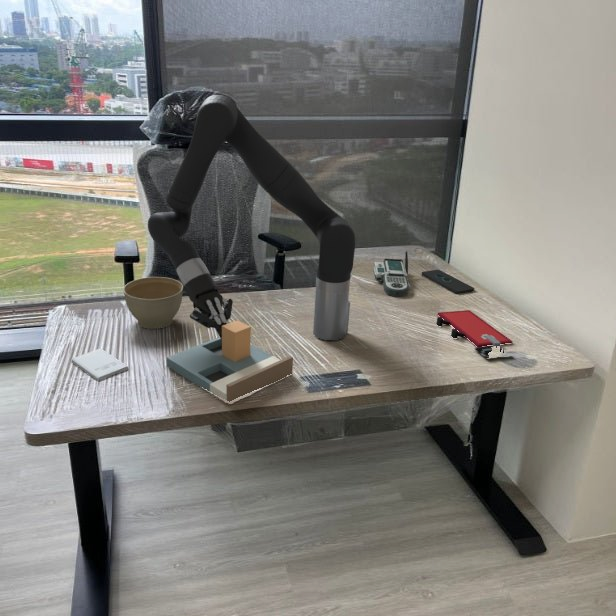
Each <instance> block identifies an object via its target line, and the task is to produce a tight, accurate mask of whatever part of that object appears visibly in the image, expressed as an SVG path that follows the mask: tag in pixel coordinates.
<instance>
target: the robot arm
mask: <svg viewBox="0 0 616 616" xmlns="http://www.w3.org/2000/svg"><path fill="white" fill-rule="evenodd" d="M195 120H196V121H195V124H194V129H193V132H192V137H191V139H190V142H189V146H188V149H187V151H186V153H185V156H184V157H183V160H182V162H181V163H180V165H179V167H178V169H177V171H176V173H175V175H174V177H173V179H172V181H171V184H170V186H169V189H168V190H167V193H166V195H165V202H166V204H167V206H169V207H170V208H171V210H170V211H168V212H167V211H164V212H162V211H161V212H155V213H153V214H151V215H150V216H149V217H148V220H147V228H148V229H147V230H148V234H149V235H150V238H152V240H153V241H154V243H156V245H157V246H158V247H159V248H160V249H161V250H162V251H163V252H164V254H165V255H166V256H168V258H169V260H170V262H171V264H172V266H173V267H174V270H175V271H176V274H177V276H178V279H179V282H180V283H181V284H182V285H183V290H184V291H185V292H186V295H187V297H188V298H189V300H190V302H192V307H193V311H192V312H191V313H190V314H189V317H190V319H191V320H193V321H195V322H197V323H199V324H200V325H201V326H203V327H205V328H207V329H210V328H212V329H213V328H214V329H215V331H216V333H217V335H218V337H220V338H221V339H222V326H223V325H226V324H228V321H229V320H231V318H232V311H233V310H232V309H233V303H234V300H233V299H232V298H228V299H226V298H224V297H223V295H222V294H220V292H219V290H218V286H217V285H216V283H215V281H214V279H213V277H212V274H211V273H210V271H209V270H208V267H207V266H206V264H205V263H204V261H203V260H202V259H201V257H200V255H199V253H198V251H197V249H196V247H195V245H194V244H193V243H192V242H191V241H189V240H185V239H182V237H183V236H184V235H185V234H186V233H187V232H188V230H189V228H190V223H191V217H192V211H193V206H194V205H195V202H196V200H197V197H198V195H199V194H200V191H201V188H202V187H203V184H204V182H205V178H206V177H207V173H208V171H209V168H210V166H211V164H212V162H213V159H214V158H215V156H216V155H217V153H218V151H219V150H220V148H221V147H222V146H223V144H224V143H225V142H226V144H227V145H229V146H230V147H231V148H232V149H233V150H234V151H235V152H236V153H237V155H238V156H239V157H240V158H241V160H242V162H243V163H244V165H245V166H246V168H247V169H248V171H249V173H250V174H251V176H252V177H253V178H254V179H255V181H256V182H257V184H258V185H259V186H260V187H261V188H262V189H263V190H264V191H265V192H266V193H267V194H268V195H269V196H270V197H271V198H272V199H273V200H275V201H276V202H277V203H278V204H279V205H281V206H282V207H283V208H285V209H287V210H288V211H289V212H291V213H293V214H294V215H295V216H297V217H299V218H300V219H301V221H302V222H303V223H304V224H305V225H306V226H307V227H308V229H309V230H310V231H311V232H312V233H313V234H314V235H315V237H316V239H317V240H318V243H319V255H318V265H317V267H316V276H315V295H314V296H315V297H314V311H313V312H314V313H313V314H314V316H313V328H312V329H313V330H312V331H313V333H312V334H313V336H314V335H315V338H317V337H318V338H317V339H319V338H320V340H322V339H324V340H323V341H327V340H336V341H340V340H343V339H344V338H345V337H346V335H347V334H348V333H347V332H349V322H350V321H349V320H350V309H351V302H350V301H349V299H350V297H349V296H350V283H351V274H352V271H353V268H354V262H355V261H354V260H355V251H356V235H355V232H354V230H353V228H352V227H351V225H350V223H349V222H348V221H347V220H346V219H345V218H343V217H342V215H340V214H339V213H337V212H336V211H335V210H333V209H332V208H331V207H330V206H329V205H327V203H325V202H324V201H323V200H322V199H321V198H320V196H319V195H318V194H317V193H316V192H315V190H314V189H313V188H312V186H311V185H310V183H308V182H307V180H306V179H305V178H304V177H303V175H302V174H301V173H300V172H299V171H298V170H297V169H296V168H295V167H294V166H293V165H292V164H291V162H289V160H287V159H286V157H284V156H283V155H282V153H280V152H279V151H278V150H277V149H276V148H275V147H274V146H273V145H272V144H271V143H270V142H268V140H266V139H265V138H264V137H263V136H262V135H261V134H260V133H259V132H258V131H257V130H256V129H255V128H254V126H253V125H252V124H251V123H250V121H249V120H248V119H247V118H246V117H245V115H244V114H243V113H242V112H241V110H240V109H239V108H238V106H237V105H236V104H235V102H233V100H231V99H230V98H229V97H228V96H225V95H221V94H213V95H210V96H208V97H207V98H206V99H205V100H204V101H203V102H202V104H201V105H200V106H199V108H198V110H197V113H196V119H195ZM342 338H343V339H342ZM339 339H340V340H339Z"/></svg>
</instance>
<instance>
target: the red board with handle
mask: <svg viewBox="0 0 616 616" xmlns="http://www.w3.org/2000/svg"><path fill="white" fill-rule="evenodd" d="M436 315H437V316H438V315H439V316H440V317H439V316H438V317H437V318H436V324H437V325H438V326H437V325H436V326H437V327H439V326H442V327H443V325H446V326H450V325H452V326H453V327H454V328H455V329H454V328H452V329H451V335H450V337H451V336H452V337H453V338H457V339H458V337H459V338H464V337H463V336H465V337H466V338H468V339H469V340H470V341H471V342H473V343H474V344H475V345H476V346H477V347H481V348H477V347H476V346H475V345H474V346H475V348H473V349H474V350H475V351H476V352H478V353H479V354H480V355H481V356H482V357H483V358H484V359H486V358H489V355H488V353H489V352H491V351H492V348H491V347H492V346H491V347H482V346H487V345H493V346H496V348H497V346H500V344H505V343H512V344H513V340H512V339H510V338H509V337H507V336H506V335H504V334H503V333H502V332H501V331H499V330H498V329H496V328H495V327H493V326H492V325H491V324H490V323H488V322H487V321H485V320H484V319H483V318H481V317H479V315H477V314H475V313H474V312H473V311H472V310H469V309H467V310H466V309H465V310H455V311H443V312H442V311H441V312H437V314H436ZM442 318H443V319H444V320H443V319H442ZM449 324H450V325H449ZM457 330H458V331H459V332H458V331H457ZM466 338H465V339H466ZM470 341H469V342H470ZM471 342H470V343H471ZM502 348H503V353H504V349H505V348H504V347H502V345H501V346H500V352H501V350H502ZM486 360H489V359H486Z"/></svg>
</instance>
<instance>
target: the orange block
mask: <svg viewBox="0 0 616 616" xmlns="http://www.w3.org/2000/svg"><path fill="white" fill-rule="evenodd" d="M251 328H252V327H251V326H250V325H247V324H246V323H244V322H242V321H240V320H234V321H231V322H227V324H226V325H223V326H222V355H224V356H226V357H227V358H229V359H231V360H233V361H234V362H236V361H238V360H241V359H243V358H245V357H248V356H250V346H251V345H252V344H251V342H252V341H251V339H252V338H251V335H252V334H251Z"/></svg>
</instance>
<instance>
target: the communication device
mask: <svg viewBox="0 0 616 616" xmlns="http://www.w3.org/2000/svg"><path fill="white" fill-rule="evenodd" d="M408 255H409V254H408V251H407V250H406V251H405V258H404V260H403V259H399V258H384V259H383V261H374V263H373V274H374V280H376V281H379V282H381V283H382V284H383V285H382V286H383V291H384V292H385V293H386V295H388V296H392V297H395V298H398V297H399V298H400V297H405V296H407V294H408V293H409V290H410V289H411V284H410V283H409V278H408V274H409V259H408V258H409V257H408Z"/></svg>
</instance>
